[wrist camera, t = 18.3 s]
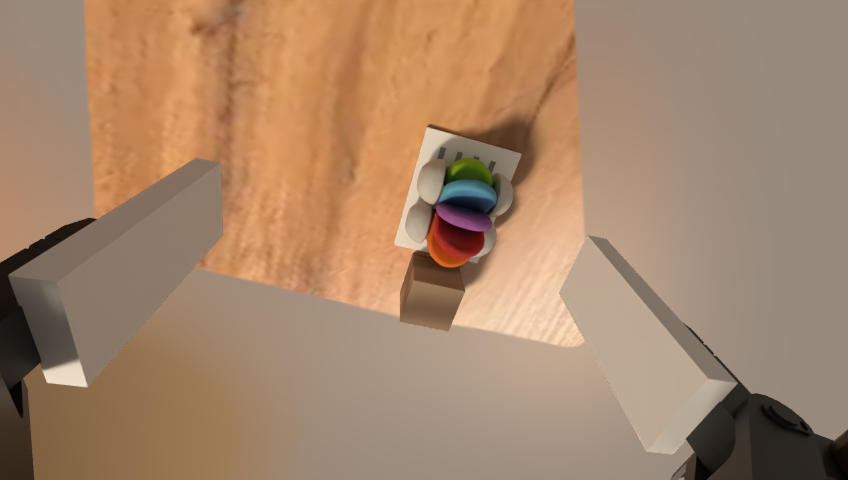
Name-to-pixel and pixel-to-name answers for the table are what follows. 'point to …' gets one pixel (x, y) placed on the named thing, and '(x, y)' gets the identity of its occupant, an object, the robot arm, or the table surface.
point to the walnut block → (430, 293)
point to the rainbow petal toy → (458, 209)
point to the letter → (451, 151)
